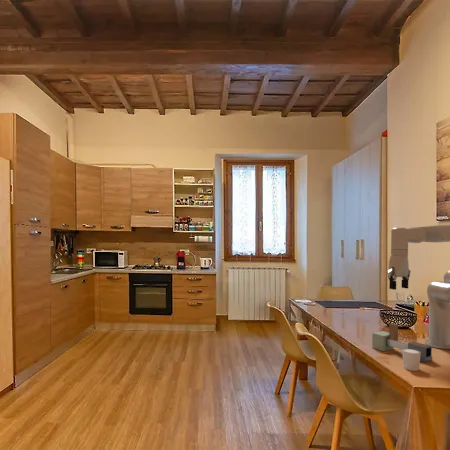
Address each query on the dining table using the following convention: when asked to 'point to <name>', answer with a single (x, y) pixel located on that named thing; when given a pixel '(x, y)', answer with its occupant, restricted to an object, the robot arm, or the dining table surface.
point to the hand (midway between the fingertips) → (398, 288)
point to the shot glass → (411, 359)
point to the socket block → (380, 341)
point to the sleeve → (422, 351)
